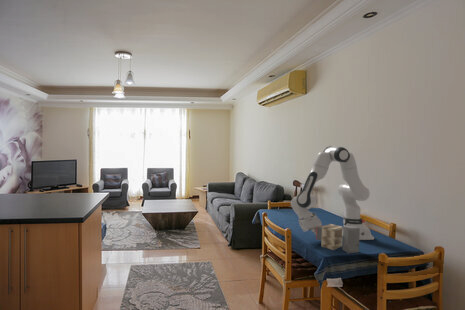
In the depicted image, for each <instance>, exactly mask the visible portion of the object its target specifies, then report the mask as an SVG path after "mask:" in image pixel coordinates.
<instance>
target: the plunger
mask: <svg viewBox="0 0 465 310" xmlns="http://www.w3.org/2000/svg"><path fill="white" fill-rule="evenodd" d="M322 226H324V225H323V224H322V225H321V226H319V227H316V235H315V240H317V241H321V238H322Z"/></svg>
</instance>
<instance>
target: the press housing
mask: <svg viewBox="0 0 465 310" xmlns="http://www.w3.org/2000/svg"><path fill="white" fill-rule="evenodd" d="M321 226H322V225H321ZM342 232H343V226H342V225H336V224H332V223H328V224H326V225H325V224H324V225H323V226H322V238H321V240H320V243H321V245H320V246H321V247H322V248H324V249H325V248H326V249H329V250H332V251H335V250H337V249H339V248H342V247H343V236H342Z"/></svg>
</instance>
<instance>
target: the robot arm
mask: <svg viewBox="0 0 465 310" xmlns="http://www.w3.org/2000/svg"><path fill="white" fill-rule="evenodd" d="M332 162H338V163H339V164H340V171H341V172H340V173H341V176H342V177H341V178H342V179H343V180H344V182H346V183H341V184H339V186H338V188H337V193H338V195H339V196H340V197H341V200H342V203H343V207H344V216H343V222H342V223H343V226H355V227H358V228H360V234H359V241H367V240H368V241H370V240H375V237H374V236H373V235H372V234H371V230H370V228H368V227H367V225H365V224H364V223H366V220H365V219H363V218H361V210H362V209H361V207H360V205H359V204H358V202H359V201H360V202H361V201H363V202H364V201H367V200H368V199H369V198H370V190H369V188H367V187H366V186H365V185H364V183H363V182H362V180H361V178H360V175H359V171H358V167H357V166H358V165H357V161H356V159H355V156H354V154H353V153H352V152H349V150H348V149H347V148H345V147H343V146H342V147H341V146H338V145H333V146H332V145H330V146H326V148H324V150H323V151H320V152H318V153H317V155H316V156H315V159H314V161H313V163H312V166H311V169H310V172H309V174H308V176H307V178H306V180H305V183H304V184H303V188H302V189H301V191H300V192H299V194H298V195H296V196H294V197H293V198H292V199H291V200H290V207H291V208H292V210H293V211H294V213H295V214H296V215H297V217H298V223H299V227H300V228H301V230H302V232H304V233H305V232H308V231H311V232H312V233H313V234H314V235H315V236H316V227H319V226H322V225H323V223H322V221H321V219H320V218H319V217H318V216H317V213H315V212H311V211H310V210H309V209H312V208H313V207H315V206H316V205H317V202H318V200H317V198H316V195H314V194H312V192H313V190H314V187H315V185H316V183H317V182H319V181H320V180H323V179H324V178H325V177H326V175H327V173H328V171H329V167H330V165H331V163H332ZM357 201H358V202H357ZM342 237H343V232H342Z"/></svg>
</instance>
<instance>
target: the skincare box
mask: <svg viewBox="0 0 465 310" xmlns="http://www.w3.org/2000/svg"><path fill="white" fill-rule="evenodd" d="M342 227H343V236H342V247H341V248H342V251H344V252H345V253H347V254H354V253H359V252H360V240H359V234H360V228H358V227H355V226H344V225H343V226H342Z"/></svg>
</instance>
